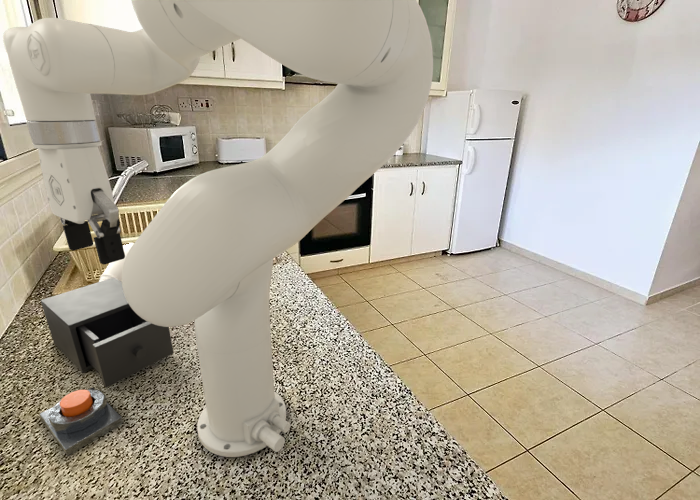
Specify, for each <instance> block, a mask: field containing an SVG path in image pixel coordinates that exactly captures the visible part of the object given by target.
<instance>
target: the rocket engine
mask: <svg viewBox="0 0 700 500" xmlns="http://www.w3.org/2000/svg"><path fill="white" fill-rule="evenodd" d="M128 243H129V244H126V243H125V244H126V245H125V244H124V245H123V249H124V253H125V258H126V256H127V254H128V252H129V250H130V249H131V247H132V246H133V244H134V243H135V242H128ZM125 258H124V259H122V260H118V261H115V262H112V263H108V264H107V266H106V268H105V269H104V271H103V273H102V274H100V276H99V279H98V282H101V281H104V280H107V279H110V278H116V279H117V280H119V281H121V282H122V269H123V264H124V261H125Z"/></svg>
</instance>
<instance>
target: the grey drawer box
mask: <svg viewBox="0 0 700 500" xmlns="http://www.w3.org/2000/svg"><path fill="white" fill-rule="evenodd" d="M40 303H41V307H42V311H43V313H44V316H45V319H46V322H47V327H48V329H49V333H50V336H51V339H52V342H53V345H55V347H57V348H58V350H59V351H60V352H62V353H63V355H64V356H65V357H66V358H67V359H68V360H69V361H70V362H71V363H72V364H73V365H74V366H75V367H76V368H77V369H78V370H79V371H80V372H81V373H82V374H83V373H86V372H89V371H90V370H92V369H95V368H94V367H93V366H92V365H91V364H89V363H88V362H87V361H86V360H85V359H84V356H83V353H82V349H81V346H80V342H79V339H78V335H77V332H76V327H78V326H81V325H84V324H86V323H89V322H92V321H94V320H97V319H100V318H102V317H105V316H107V315H110V314H113V313H115V312H118V311H121V310H123V309H126V308H129V307H130V305H129V304H128V302H127V300H126V298H125V295H124V291H123V287H122V282H121V281H119V280H117V279H116V278H110V279H107V280H104V281H101V282H99V281H98V282H94V283H91V284H88V285H85V286H81V287H79V288H75V289H71V290H68V291H65V292H62V293H59V294H56V295H53V296H50V297H46V298H42V299H40Z"/></svg>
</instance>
